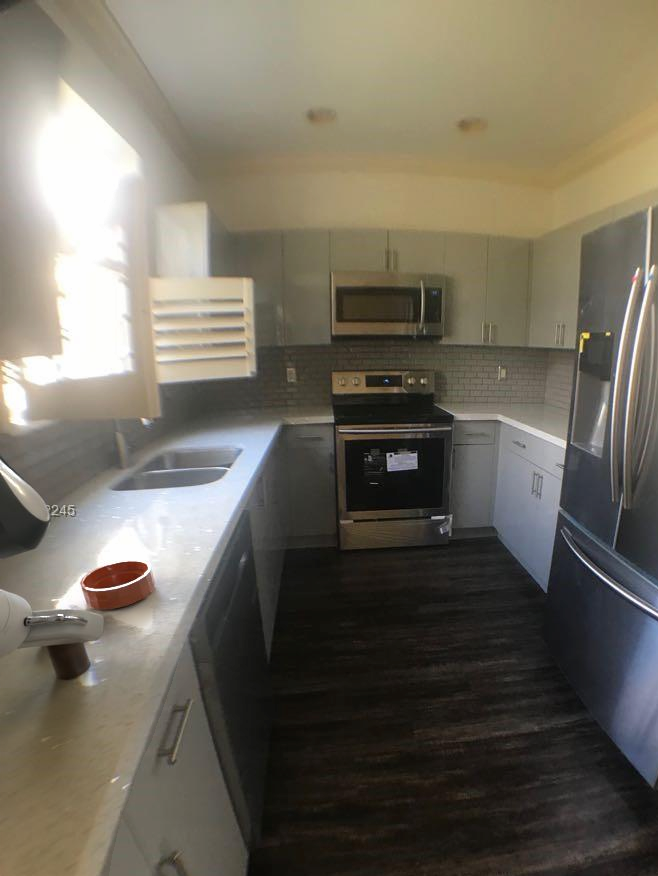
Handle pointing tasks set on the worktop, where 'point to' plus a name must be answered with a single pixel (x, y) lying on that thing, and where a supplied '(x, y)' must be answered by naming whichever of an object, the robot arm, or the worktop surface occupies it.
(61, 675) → the pepper mill
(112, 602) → the bowl
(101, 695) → the worktop surface
